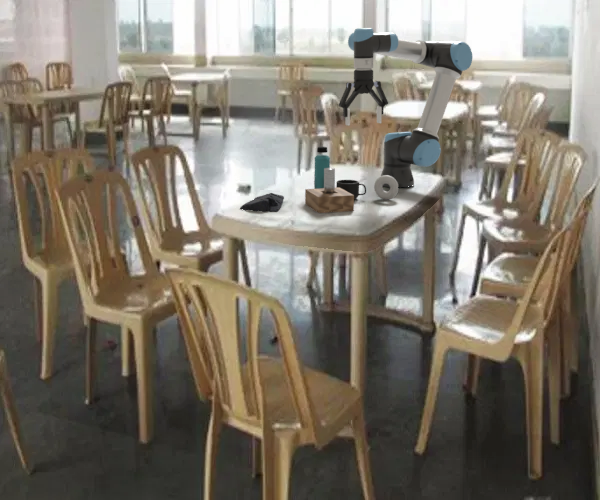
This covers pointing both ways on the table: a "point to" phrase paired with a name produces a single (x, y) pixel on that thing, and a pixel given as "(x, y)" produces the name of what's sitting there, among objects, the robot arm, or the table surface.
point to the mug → (350, 187)
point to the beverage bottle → (320, 167)
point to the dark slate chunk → (265, 203)
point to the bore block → (329, 200)
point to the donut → (392, 183)
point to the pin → (329, 180)
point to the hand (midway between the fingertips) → (363, 124)
